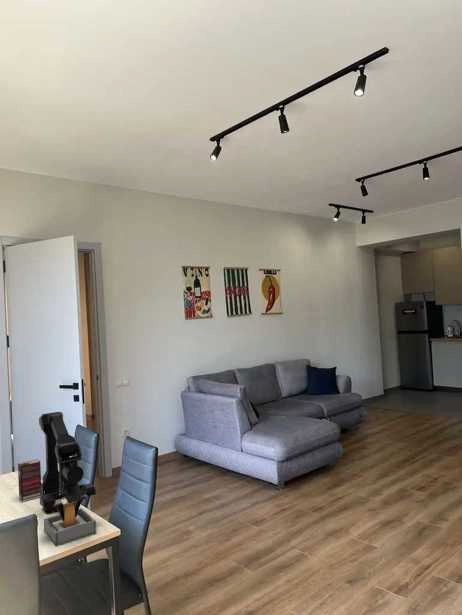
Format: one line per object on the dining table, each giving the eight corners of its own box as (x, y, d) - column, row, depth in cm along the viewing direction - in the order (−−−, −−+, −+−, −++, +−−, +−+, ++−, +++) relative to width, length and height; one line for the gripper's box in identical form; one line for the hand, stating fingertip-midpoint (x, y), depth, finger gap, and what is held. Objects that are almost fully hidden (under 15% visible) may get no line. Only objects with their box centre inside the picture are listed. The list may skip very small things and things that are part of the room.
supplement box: (39, 494, 202) (37, 458, 203) (42, 497, 198) (40, 461, 199) (18, 499, 197) (17, 463, 197) (21, 502, 193) (19, 465, 194)
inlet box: (44, 531, 164) (43, 518, 165) (82, 519, 173) (81, 508, 173) (55, 546, 152) (55, 533, 153) (96, 533, 161) (95, 520, 161)
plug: (62, 526, 163) (61, 504, 163) (73, 523, 166) (72, 501, 166) (65, 530, 160) (64, 507, 160) (76, 526, 162) (76, 504, 163)
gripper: (47, 488, 151) (48, 535, 151) (100, 474, 163) (102, 518, 162) (38, 479, 160) (40, 524, 160) (90, 467, 171) (91, 509, 171)
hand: (69, 518), depth 163 cm, fingers closed on plug, 4 cm apart
